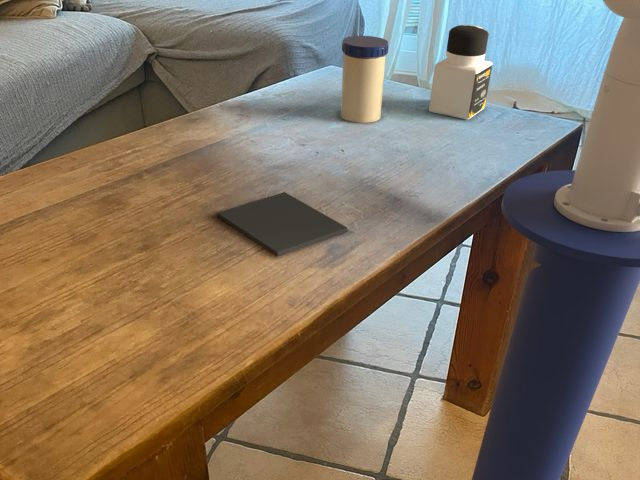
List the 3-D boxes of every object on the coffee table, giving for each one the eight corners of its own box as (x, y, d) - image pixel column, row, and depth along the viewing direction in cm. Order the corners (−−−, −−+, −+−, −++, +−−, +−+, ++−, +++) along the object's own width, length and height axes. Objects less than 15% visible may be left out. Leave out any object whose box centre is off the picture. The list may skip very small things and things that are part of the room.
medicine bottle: (468, 120, 105) (483, 35, 97) (427, 112, 108) (438, 28, 100) (484, 109, 110) (500, 26, 102) (445, 100, 113) (457, 19, 104)
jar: (388, 117, 106) (395, 45, 99) (359, 125, 102) (363, 52, 96) (362, 107, 109) (366, 36, 102) (332, 114, 106) (335, 42, 99)
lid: (397, 53, 99) (398, 43, 98) (363, 60, 96) (363, 49, 95) (366, 43, 103) (367, 33, 102) (332, 49, 100) (333, 39, 99)
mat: (347, 231, 76) (347, 227, 76) (277, 256, 71) (277, 252, 71) (284, 195, 83) (284, 191, 83) (217, 216, 78) (216, 212, 78)
